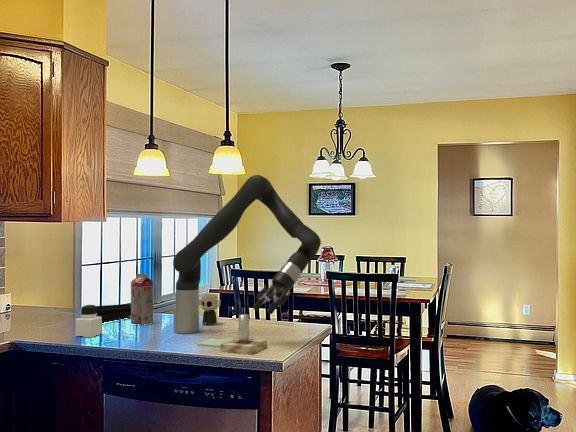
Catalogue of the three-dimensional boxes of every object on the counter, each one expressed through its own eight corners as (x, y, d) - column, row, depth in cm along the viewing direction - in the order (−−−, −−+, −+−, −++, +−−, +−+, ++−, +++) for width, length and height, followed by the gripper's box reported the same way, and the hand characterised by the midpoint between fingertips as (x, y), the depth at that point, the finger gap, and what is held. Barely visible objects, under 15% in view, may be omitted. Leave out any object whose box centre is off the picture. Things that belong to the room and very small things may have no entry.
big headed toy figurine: (194, 324, 251) (194, 294, 251) (203, 322, 257) (203, 293, 258) (216, 326, 247) (216, 296, 247) (224, 324, 253) (224, 294, 253)
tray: (108, 326, 250) (108, 314, 250) (64, 323, 257) (64, 311, 257) (147, 315, 278) (147, 304, 278) (106, 313, 286) (106, 302, 286)
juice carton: (141, 326, 249) (141, 274, 249) (131, 324, 252) (130, 274, 252) (153, 323, 254) (153, 273, 254) (142, 322, 258) (142, 273, 258)
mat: (196, 345, 209) (196, 343, 209) (210, 339, 219) (210, 338, 219) (221, 347, 206) (221, 345, 206) (234, 341, 215) (234, 340, 215)
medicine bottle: (102, 334, 230) (102, 304, 230) (90, 338, 223) (90, 307, 223) (87, 333, 232) (87, 303, 233) (75, 337, 226) (75, 306, 226)
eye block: (220, 351, 199) (220, 344, 199) (236, 344, 210) (236, 337, 210) (252, 354, 195) (252, 347, 195) (266, 347, 206) (266, 340, 206)
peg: (237, 350, 201) (236, 315, 201) (241, 348, 205) (241, 314, 205) (246, 350, 200) (246, 316, 200) (250, 348, 203) (250, 314, 203)
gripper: (269, 269, 218) (244, 302, 211) (293, 271, 207) (267, 306, 200) (280, 282, 222) (256, 315, 214) (304, 285, 210) (279, 320, 203)
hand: (261, 311), depth 207 cm, fingers open, 8 cm apart
